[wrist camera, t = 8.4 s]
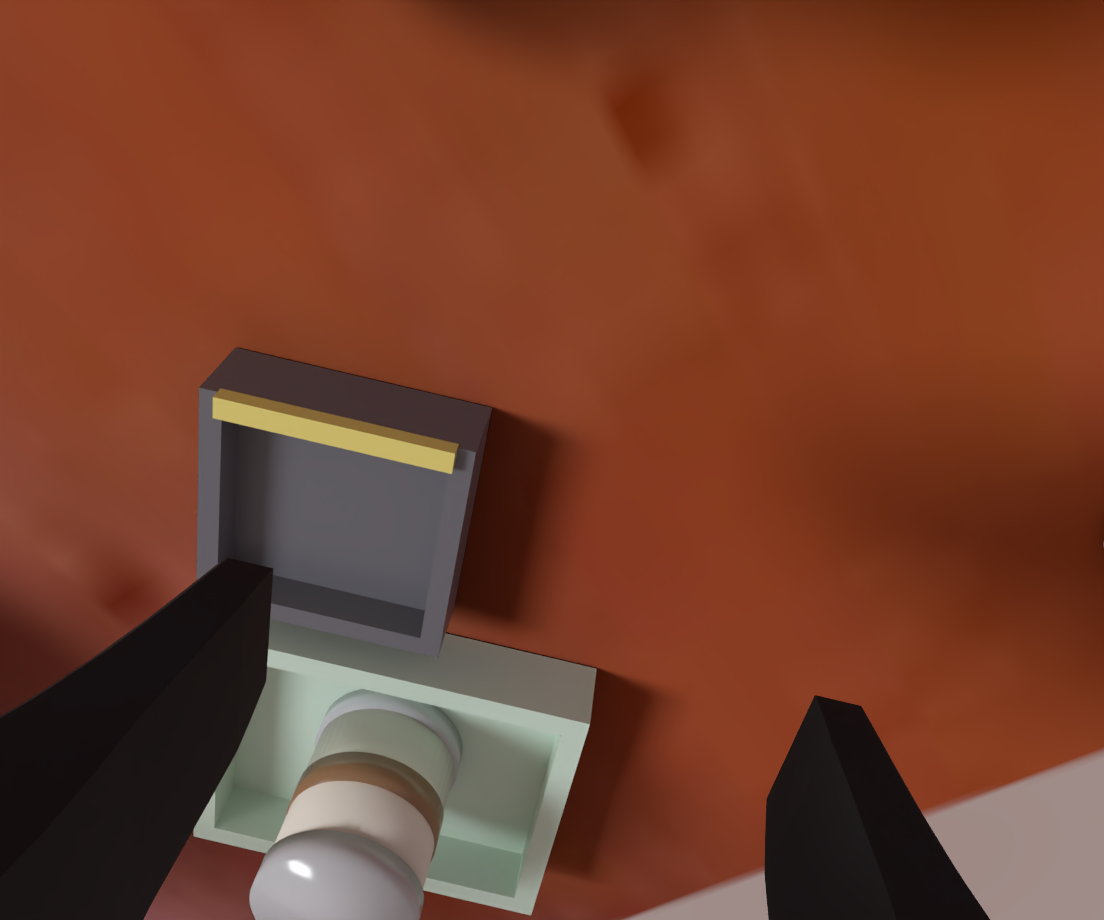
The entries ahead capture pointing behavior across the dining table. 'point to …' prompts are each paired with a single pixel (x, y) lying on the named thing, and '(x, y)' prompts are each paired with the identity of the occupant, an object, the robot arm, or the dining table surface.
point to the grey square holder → (339, 495)
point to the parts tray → (486, 765)
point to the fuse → (363, 814)
